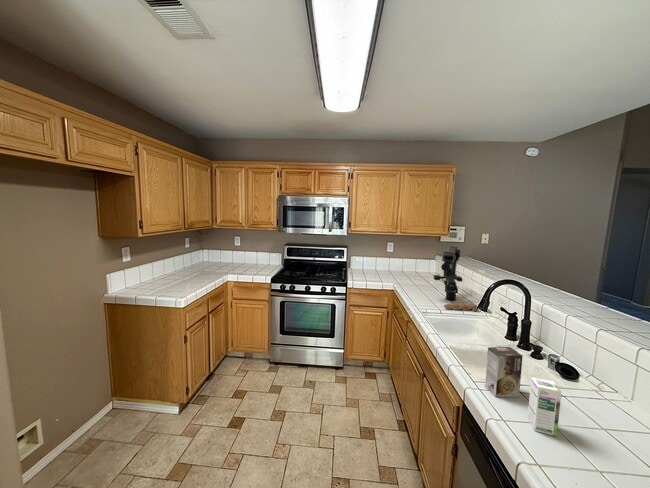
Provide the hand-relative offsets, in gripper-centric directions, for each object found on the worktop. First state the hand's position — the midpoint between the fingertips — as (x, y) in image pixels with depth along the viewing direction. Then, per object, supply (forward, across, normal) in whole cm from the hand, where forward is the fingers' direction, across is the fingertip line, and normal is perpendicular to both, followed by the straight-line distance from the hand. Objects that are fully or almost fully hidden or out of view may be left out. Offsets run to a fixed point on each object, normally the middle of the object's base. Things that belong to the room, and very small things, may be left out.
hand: (446, 289), depth 193 cm
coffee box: (+11, -1, -100) cm, 100 cm away
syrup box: (+10, +5, -115) cm, 116 cm away
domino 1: (+12, -2, -6) cm, 13 cm away
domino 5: (+12, +19, -6) cm, 23 cm away
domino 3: (+12, +9, -5) cm, 16 cm away
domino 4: (+12, +16, -5) cm, 20 cm away
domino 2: (+12, +3, -6) cm, 14 cm away
